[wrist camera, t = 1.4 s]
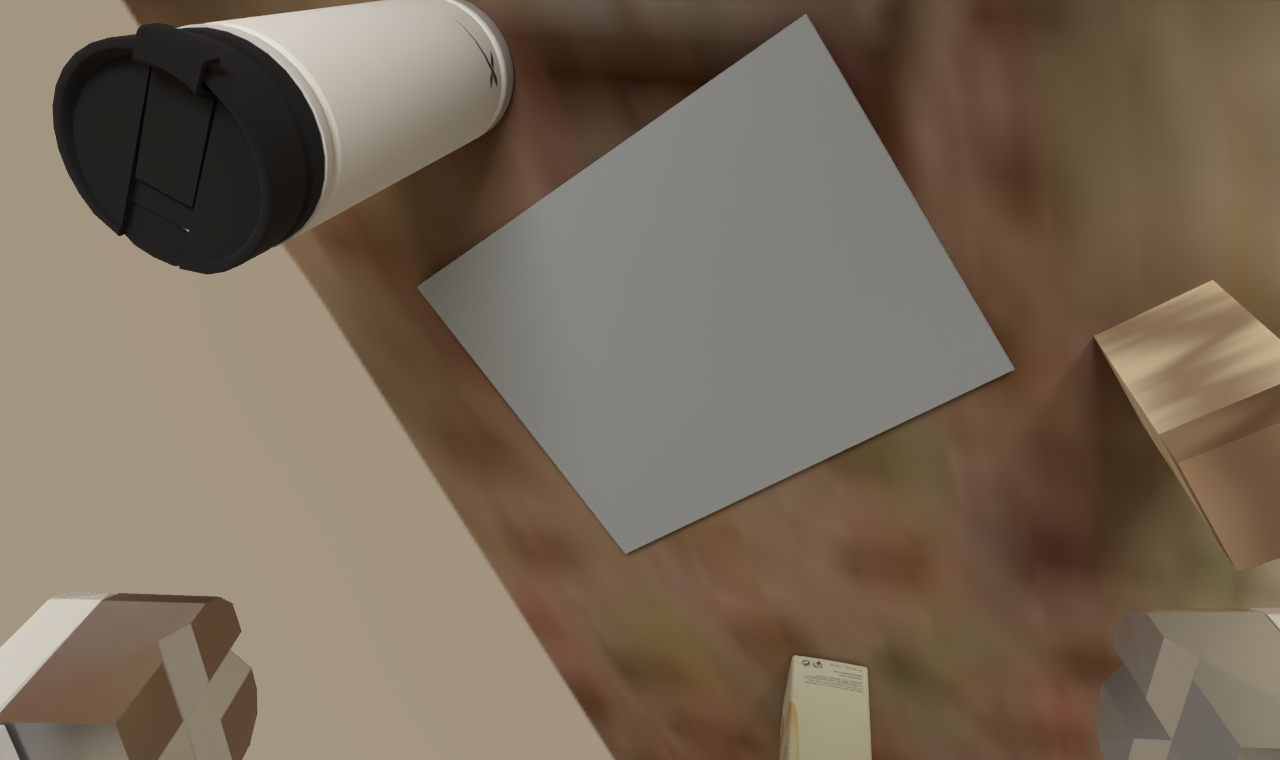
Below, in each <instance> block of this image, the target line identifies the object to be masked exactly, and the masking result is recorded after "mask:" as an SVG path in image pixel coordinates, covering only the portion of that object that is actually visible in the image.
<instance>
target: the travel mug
mask: <svg viewBox="0 0 1280 760" xmlns="http://www.w3.org/2000/svg"><path fill="white" fill-rule="evenodd" d="M513 80H514V76H513V64H512V60H511V56H510V52H509V48H508V46H507V44H506V42H505V40H504V37H503V35H502V34H501V32H500V31H499V29H498V28H497V26H496V25H495V23H494V22H493V21H492V20H491V19H490V18H489V17H488V16H487V15H486V14H485V13H484V12H483V11H482V10H480V9H479V8H477V7H476V6H475V5H473V4H472V3H470V2H468V1H465V0H384V1H376V2H368V3H360V4H352V5H344V6H336V7H328V8H320V9H312V10H304V11H296V12H288V13H280V14H272V15H264V16H256V17H248V18H241V19H233V20H225V21H217V22H209V23H204V24H193V25H186V26H182V27H179V28H175V27H173V26H171V25H166V24H160V23H154V24H147V25H142V26H141V27H139V29H138V30H137V33H136V34H135V35H127V36H119V37H110V38H106V39H103V40H99V41H96V42H92V43H90V44H88V45H87V46H85V47H84V48H82V49H81V50H79V51H78V52H76V53H75V54H74V55H73V56H72V58H71V59H70V60H69V61H68V63H67V64H66V65H65V66H64V68H63V70H62V72H61V74H60V77H59V79H58V82H57V84H56V88H55V94H54V100H53V123H54V131H55V135H56V139H57V144H58V148H59V152H60V154H61V157H62V159H63V162H64V164H65V167H66V170H67V172H68V174H69V176H70V178H71V179H72V181H73V183H74V185H75V187H76V188H77V190H78V192H79V194H80V195H81V197H82V198H83V199H84V200H85V202H86V203H87V205H88V206H89V207H90V209H91V210H92V212H93V213H94V214H95V215H96V216H97V217H98V218H99V219H101V220H102V221H103V222H104V223H105V224H106V225H107V226H108V227H110V228H111V229H112V230H113V231H114V232H115V233H116V234H117V235H118V236H121V235H123V234H125V235H126V236H127V237H128V238H129V239H130V240H131V241H132V243H133V244H134V245H136V246H137V247H139V248H140V249H142V250H143V251H145V252H147V253H149V254H150V255H151V256H153V257H155V258H157V259H159V260H162V261H164V262H166V263H168V264H171V265H173V266H180V269H184V270H189V271H194V272H198V273H203V274H213V273H220V272H225V271H228V270H230V269H232V268H234V267H237V266H239V265H241V264H243V263H244V262H246V261H248V260H250V259H252V258H254V257H256V256H257V255H259V254H261V253H263V252H265V251H267V250H269V249H270V248H272V247H276V246H278V245H281V244H283V243H285V242H287V241H289V240H292V239H293V238H295V237H297V236H298V235H300V234H302V233H304V232H306V231H308V230H310V229H312V228H314V227H315V226H317V225H319V224H321V223H323V222H325V221H326V220H328V219H330V218H332V217H334V216H336V215H337V214H339V213H341V212H343V211H345V210H347V209H348V208H350V207H352V206H354V205H356V204H358V203H359V202H361V201H363V200H365V199H367V198H369V197H370V196H372V195H374V194H376V193H378V192H380V191H381V190H383V189H385V188H387V187H389V186H391V185H392V184H394V183H396V182H398V181H400V180H402V179H403V178H405V177H407V176H409V175H411V174H413V173H414V172H416V171H418V170H420V169H422V168H424V167H425V166H427V165H429V164H431V163H433V162H435V161H436V160H438V159H440V158H442V157H444V156H446V155H447V154H449V153H451V152H453V151H455V150H457V149H458V148H460V147H462V146H464V145H466V144H468V143H469V142H471V141H473V140H475V139H477V138H479V137H480V136H482V135H484V134H485V133H487V132H488V131H489V130H491V129H492V128H493V127H494V126H495V125H496V124H497V123H498V121H499V120H500V119H501V118H502V116H503V115H504V113H505V111H506V109H507V107H508V105H509V102H510V98H511V95H512V90H513Z"/></svg>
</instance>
